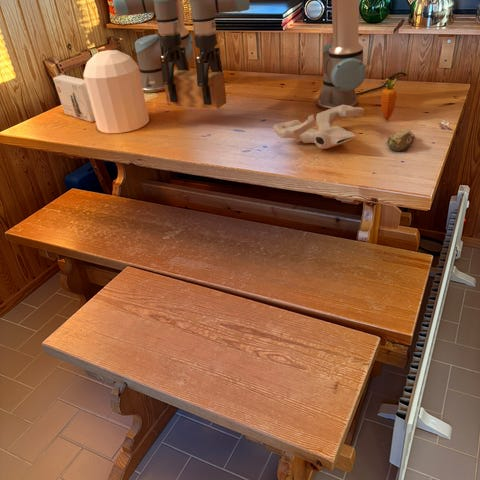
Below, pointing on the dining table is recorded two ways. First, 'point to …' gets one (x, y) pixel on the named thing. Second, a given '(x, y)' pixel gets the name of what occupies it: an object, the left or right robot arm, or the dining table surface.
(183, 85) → the box
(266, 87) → the dining table surface
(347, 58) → the right robot arm
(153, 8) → the left robot arm
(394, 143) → the rock
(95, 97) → the container
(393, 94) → the carrot
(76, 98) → the skincare box
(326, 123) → the animal horns
